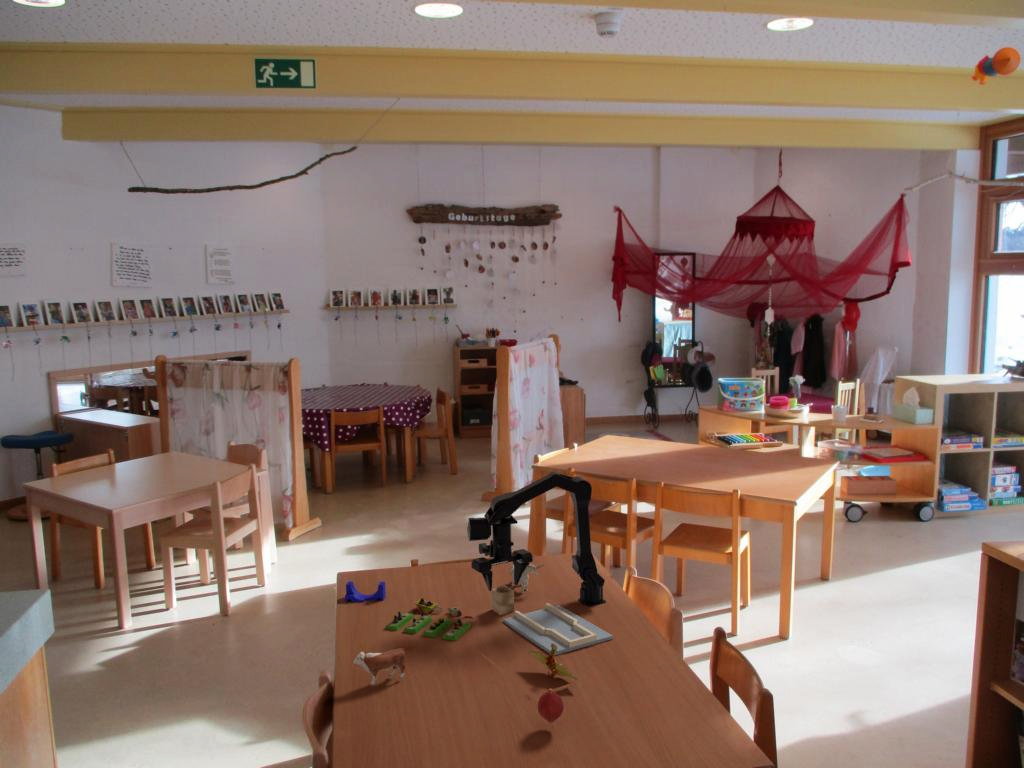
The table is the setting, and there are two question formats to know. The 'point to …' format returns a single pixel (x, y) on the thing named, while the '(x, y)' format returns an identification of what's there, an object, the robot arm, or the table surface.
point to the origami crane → (552, 662)
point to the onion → (550, 706)
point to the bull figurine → (382, 662)
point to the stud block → (502, 600)
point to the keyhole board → (557, 629)
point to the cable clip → (358, 597)
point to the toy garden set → (422, 621)
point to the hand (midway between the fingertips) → (503, 587)
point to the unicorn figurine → (524, 575)
